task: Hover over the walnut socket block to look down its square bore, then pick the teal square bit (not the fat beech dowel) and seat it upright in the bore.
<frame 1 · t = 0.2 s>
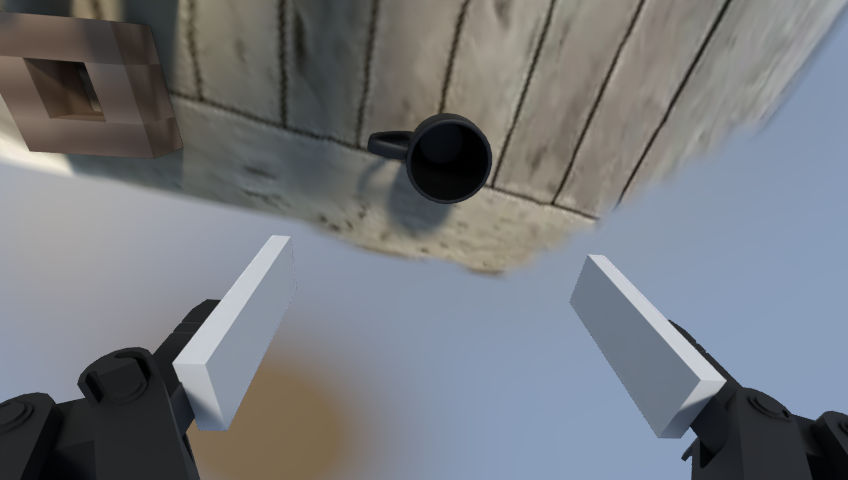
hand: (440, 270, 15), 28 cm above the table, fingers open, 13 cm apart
mug: (425, 137, 39), on the table
socket block: (109, 87, 35), on the table
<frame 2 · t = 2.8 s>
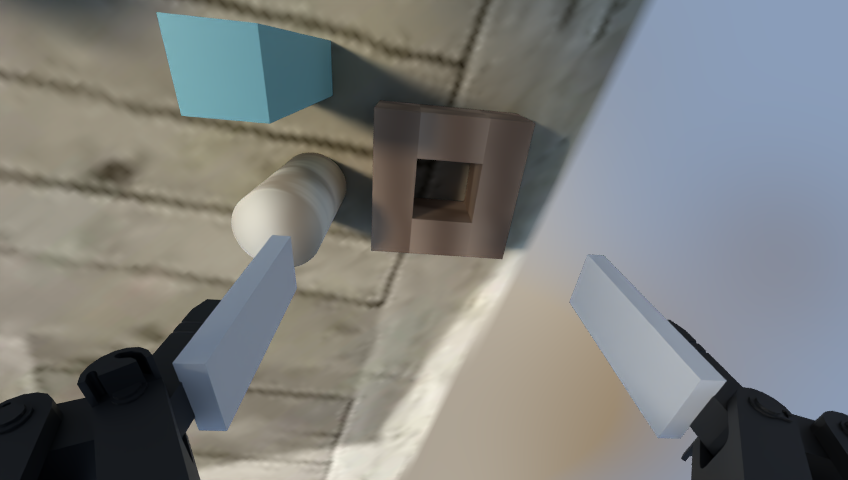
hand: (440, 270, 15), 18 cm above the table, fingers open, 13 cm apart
socket block: (441, 174, 31), on the table
round dowel: (314, 183, 32), on the table
square bit: (306, 66, 27), on the table
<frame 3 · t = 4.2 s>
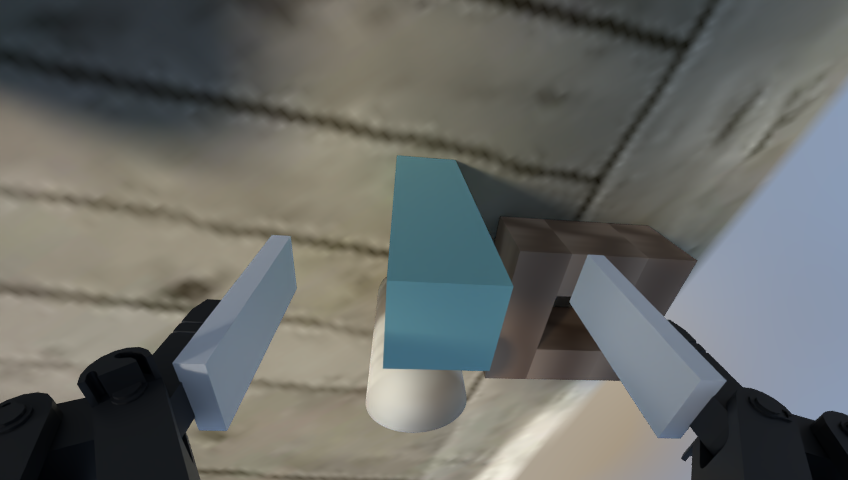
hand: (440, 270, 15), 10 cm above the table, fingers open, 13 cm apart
socket block: (553, 283, 28), on the table
round dowel: (413, 295, 28), on the table
square bit: (423, 185, 23), on the table
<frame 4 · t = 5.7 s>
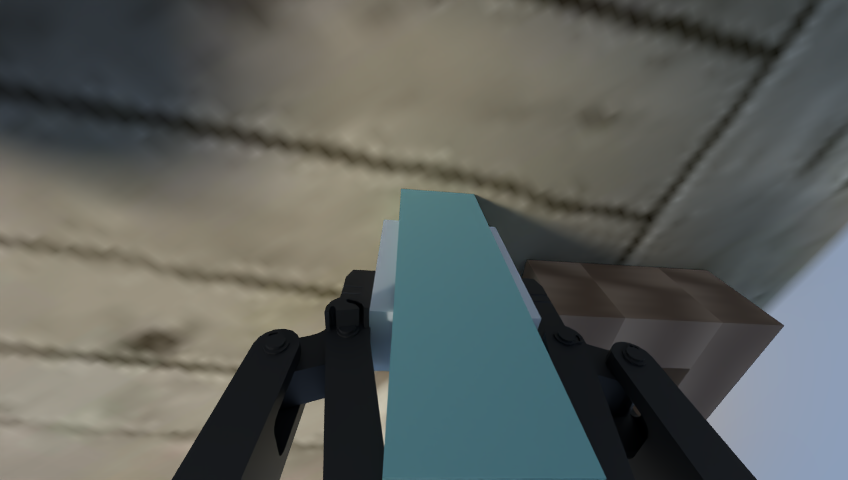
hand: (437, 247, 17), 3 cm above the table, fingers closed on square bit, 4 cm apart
socket block: (587, 334, 24), on the table
round dowel: (419, 348, 24), on the table
square bit: (433, 224, 19), on the table, touching gripper
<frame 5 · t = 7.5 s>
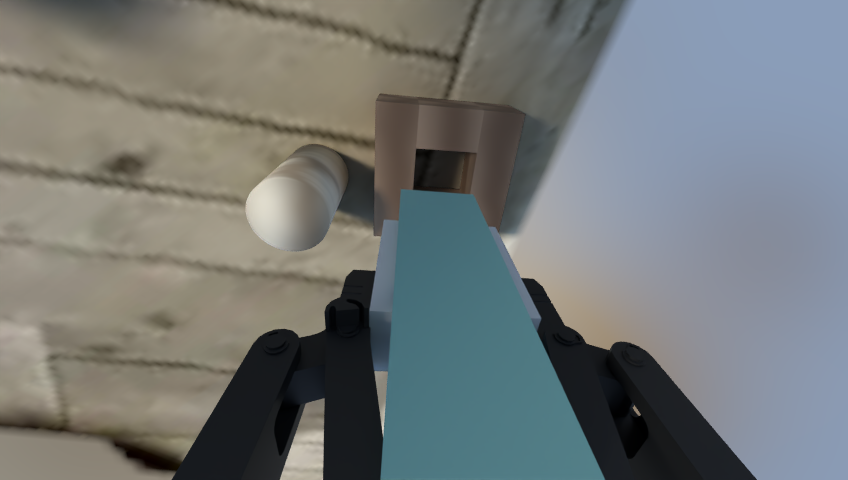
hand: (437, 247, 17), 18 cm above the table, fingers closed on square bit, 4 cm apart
socket block: (438, 163, 33), on the table
round dowel: (318, 174, 33), on the table
square bit: (433, 224, 19), point 16 cm above the table, touching gripper
when the fingers open (7 cm above the table, at t = 9.6 s): square bit drops 4 cm, resting in socket block.
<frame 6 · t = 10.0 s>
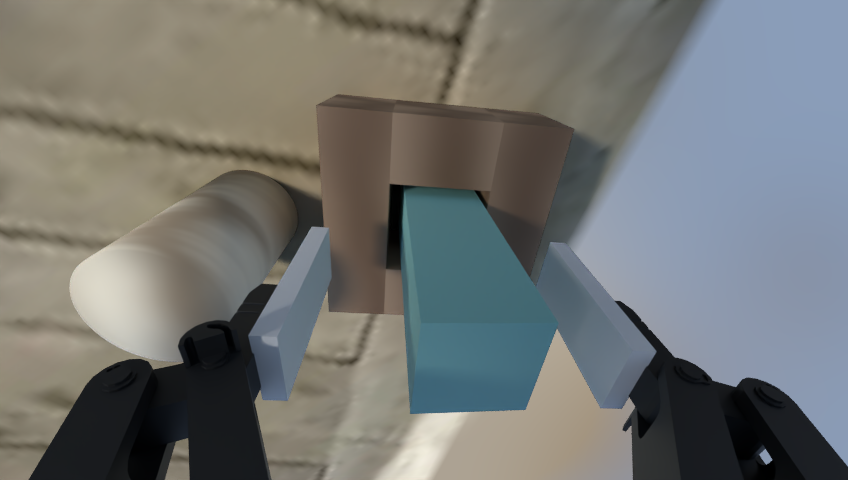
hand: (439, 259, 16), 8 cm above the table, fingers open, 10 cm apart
socket block: (430, 198, 22), on the table
round dowel: (252, 212, 22), on the table
square bit: (429, 199, 22), resting in socket block
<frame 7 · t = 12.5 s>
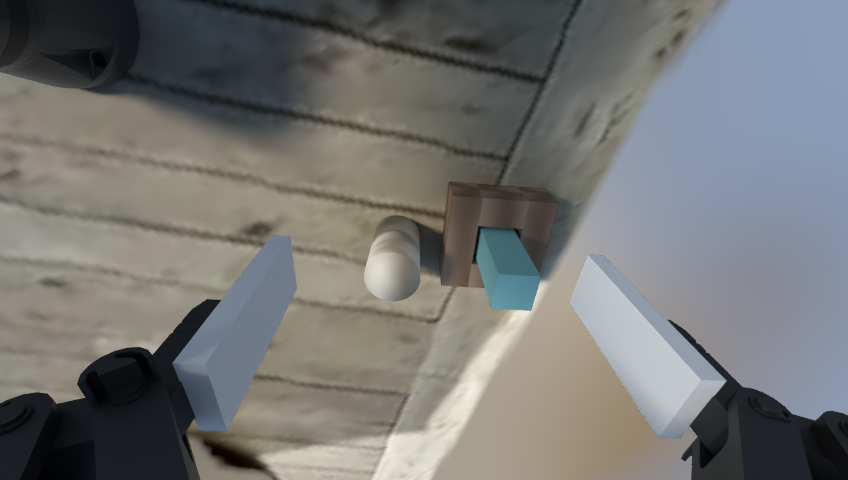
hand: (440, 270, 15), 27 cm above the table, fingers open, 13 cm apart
socket block: (488, 228, 44), on the table
round dowel: (397, 236, 44), on the table
square bit: (488, 228, 44), resting in socket block
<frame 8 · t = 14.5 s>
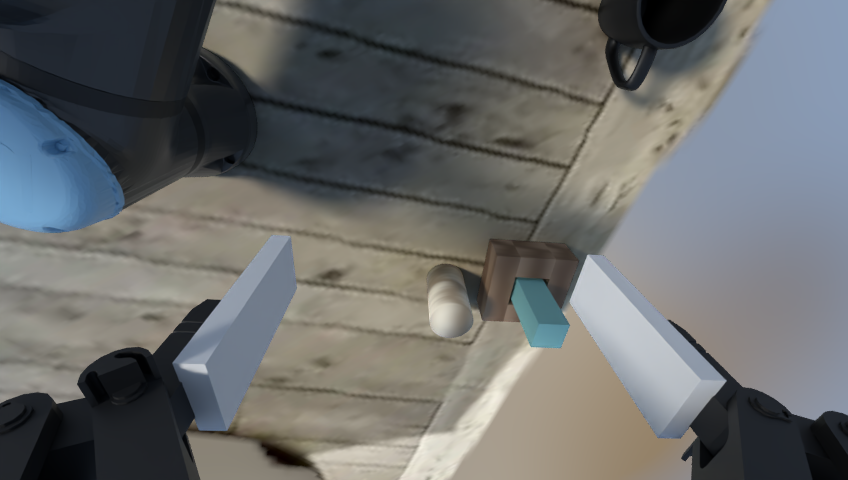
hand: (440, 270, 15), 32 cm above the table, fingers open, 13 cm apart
mug: (612, 28, 38), on the table
socket block: (518, 273, 54), on the table
round dowel: (444, 279, 54), on the table
square bit: (518, 273, 54), resting in socket block
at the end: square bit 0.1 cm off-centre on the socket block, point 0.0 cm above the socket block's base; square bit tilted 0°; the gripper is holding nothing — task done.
